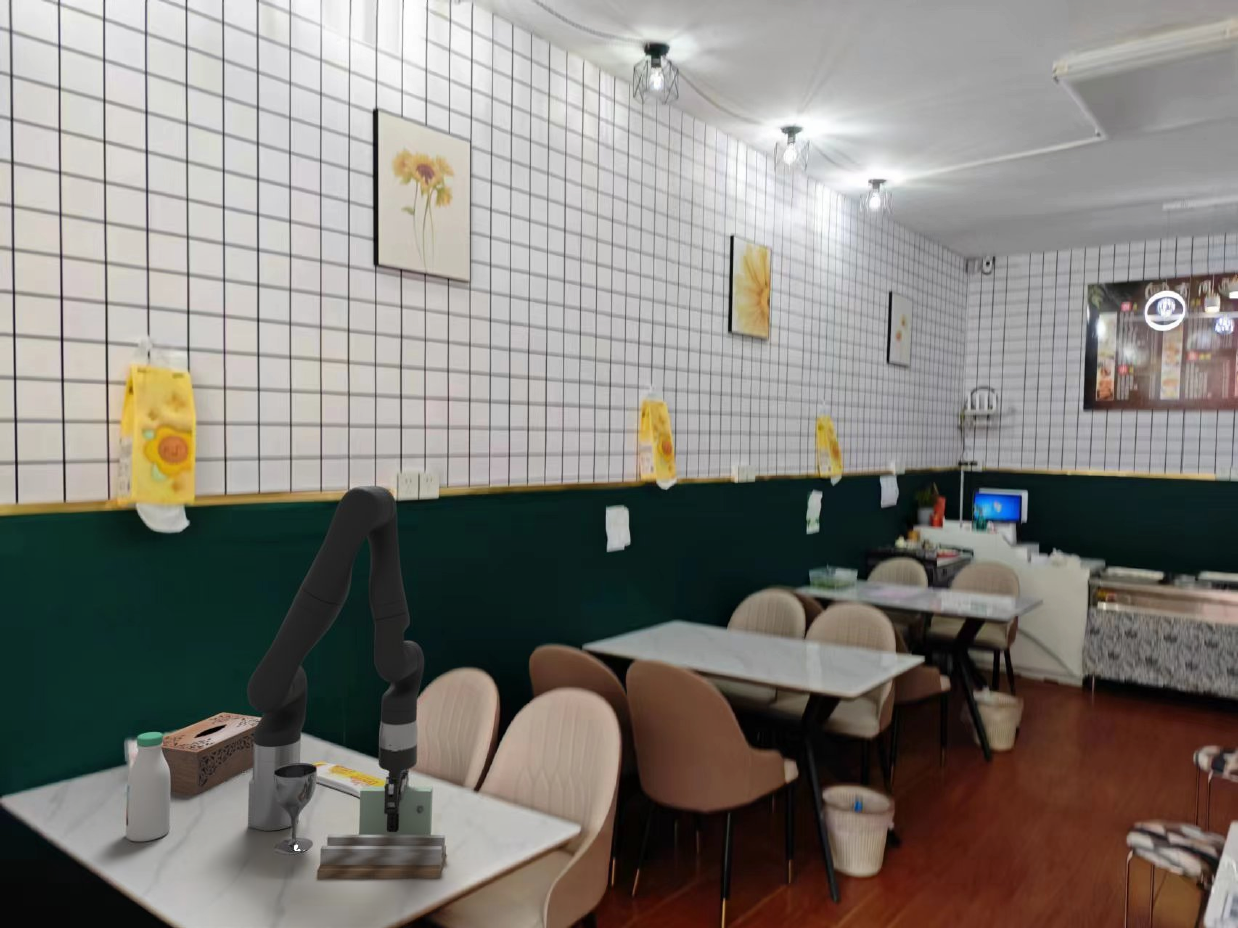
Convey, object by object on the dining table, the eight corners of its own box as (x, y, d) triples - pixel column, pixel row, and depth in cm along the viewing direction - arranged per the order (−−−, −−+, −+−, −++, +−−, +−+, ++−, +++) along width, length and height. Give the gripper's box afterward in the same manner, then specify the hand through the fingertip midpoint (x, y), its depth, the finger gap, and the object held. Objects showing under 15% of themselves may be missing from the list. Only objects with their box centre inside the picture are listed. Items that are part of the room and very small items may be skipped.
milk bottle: (178, 829, 179) (180, 731, 179) (146, 845, 172) (149, 743, 172) (148, 823, 182) (151, 726, 182) (116, 838, 175) (118, 737, 174)
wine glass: (289, 859, 169) (291, 780, 168) (263, 847, 173) (265, 771, 172) (323, 843, 175) (325, 768, 175) (297, 833, 180) (299, 760, 179)
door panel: (357, 842, 177) (359, 792, 177) (361, 834, 180) (363, 786, 180) (428, 842, 178) (430, 792, 178) (431, 835, 181) (432, 786, 181)
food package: (401, 781, 204) (368, 795, 196) (401, 791, 204) (368, 805, 196) (320, 756, 218) (286, 768, 210) (320, 765, 219) (286, 778, 210)
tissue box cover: (195, 797, 197) (197, 752, 196) (142, 788, 200) (143, 744, 200) (270, 758, 221) (271, 718, 221) (221, 751, 225) (222, 712, 225)
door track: (316, 878, 162) (317, 853, 161) (331, 852, 172) (331, 829, 171) (438, 878, 163) (439, 854, 163) (445, 853, 173) (446, 830, 173)
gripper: (386, 730, 186) (384, 808, 186) (371, 754, 171) (369, 838, 172) (422, 730, 186) (420, 808, 187) (411, 754, 172) (409, 838, 172)
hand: (396, 822), depth 179 cm, fingers open, 7 cm apart
